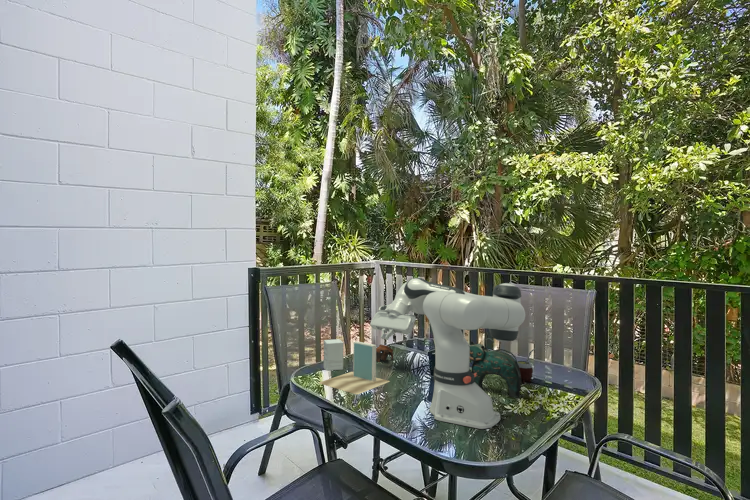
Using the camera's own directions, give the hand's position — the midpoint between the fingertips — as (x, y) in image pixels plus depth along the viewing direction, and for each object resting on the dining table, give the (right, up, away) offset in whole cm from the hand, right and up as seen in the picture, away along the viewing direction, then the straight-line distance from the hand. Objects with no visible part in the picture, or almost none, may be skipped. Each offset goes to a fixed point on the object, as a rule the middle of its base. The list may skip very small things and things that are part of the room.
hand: (384, 338), depth 181 cm
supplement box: (-22, -15, +4) cm, 27 cm away
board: (-12, -15, -16) cm, 25 cm away
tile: (-8, -14, -11) cm, 19 cm away
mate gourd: (+56, -16, -10) cm, 59 cm away
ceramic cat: (+41, -16, -21) cm, 49 cm away
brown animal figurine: (0, -15, +21) cm, 26 cm away
